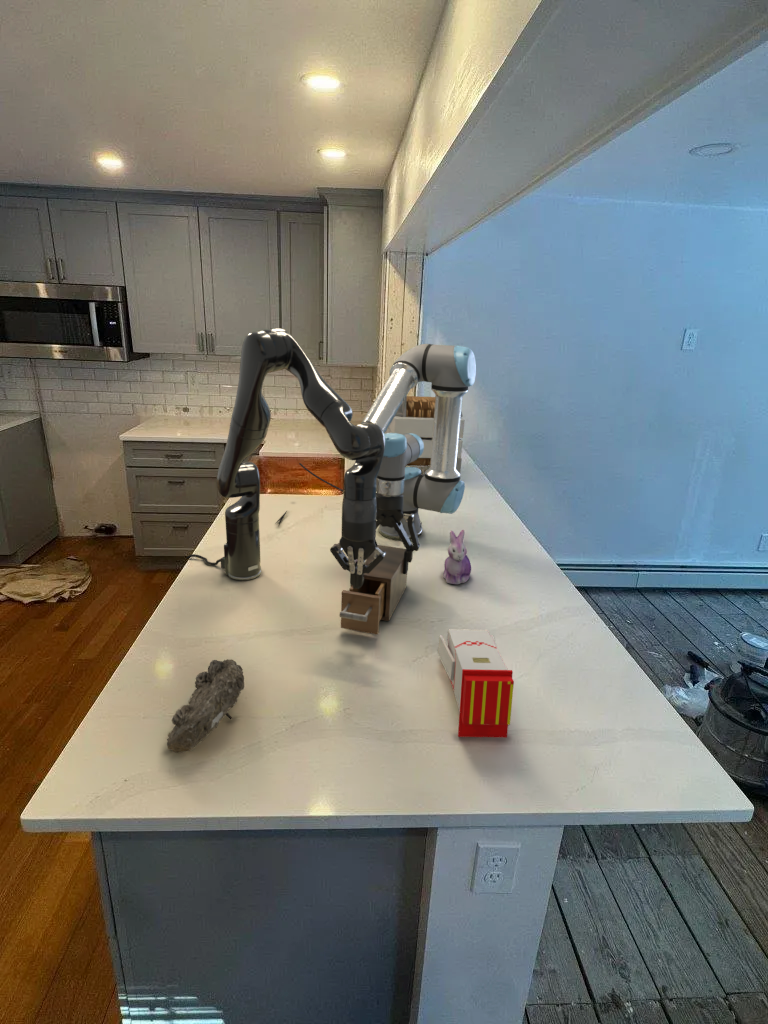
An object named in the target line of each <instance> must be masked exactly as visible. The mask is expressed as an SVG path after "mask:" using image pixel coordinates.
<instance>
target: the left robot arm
mask: <svg viewBox="0 0 768 1024" xmlns="http://www.w3.org/2000/svg"><path fill="white" fill-rule="evenodd" d="M239 361H240V363H239V375H238V383H237V389H236V395H235V401H234V406H233V409H232V413H231V418H230V423H229V430H228V435H227V439H226V444H225V448H224V451H223V455H222V457H221V459H220V463H219V466H218V469H217V473H216V474H217V475H216V487H217V491H218V493H219V494H220V496H222V497H223V498H225V499H226V498H227V499H233V498H234V499H235V498H239V499H238V500H237V501H235V502H234V503H233V504H231V505H228V507H227V508H226V509H225V511H224V520H225V538H226V542H225V543H223V556H222V557H221V558H219V559H217V560H216V561H215V562H211V561H208V558H207V557H204V556H203V555H201V554H200V555H199V554H194V553H193V554H189V555H187V556H186V557H185V559H187V560H189V559H190V558H198V559H200V560H203V561H204V563H205V564H206V565H209V566H217V565H218V564H219V563H220V569H222V570H224V573H225V576H228V577H229V578H230V579H232V580H236V581H250V580H253V579H256V578H258V577H260V575H261V574H262V566H261V538H260V537H261V533H260V510H261V475H260V471H259V468H258V466H257V465H256V464H255V463H254V462H253V461H245V460H247V458H248V457H249V456H251V455H252V454H253V453H254V452H255V451H256V450H257V449H258V448H259V447H260V446H261V445H262V444H263V442H264V441H265V439H266V437H267V436H268V435H267V434H268V431H269V428H270V423H271V418H272V412H271V408H270V406H269V403H268V402H267V400H266V398H265V396H264V394H263V385H264V381H265V378H266V376H267V375H268V374H270V373H274V372H279V371H283V370H286V371H287V372H289V373H290V374H292V375H293V376H294V377H295V378H296V380H297V381H298V384H299V387H300V393H301V398H302V401H303V404H304V406H305V408H306V409H307V411H308V412H309V413H310V414H311V416H313V417H314V418H315V419H316V421H317V422H318V423H319V424H321V426H322V427H323V428H324V429H325V430H326V433H327V435H328V436H329V438H330V441H331V442H332V444H333V446H334V448H335V450H336V451H337V453H338V454H339V455H341V456H342V457H343V458H345V459H347V460H349V461H354V463H353V465H352V466H351V467H349V468H348V469H347V470H345V472H344V475H343V490H344V491H343V492H342V494H343V495H342V496H343V497H342V503H341V537H340V538H339V542H338V543H334V544H333V545H332V546H331V547H330V548H329V550H330V553H331V555H332V556H333V557H334V558H335V560H336V561H337V563H338V564H339V566H340V567H341V569H342V570H344V571H348V572H349V574H350V576H349V584H351V585H352V587H353V588H356V589H359V588H360V587H361V586H362V585H363V583H364V573H367V574H368V573H370V572H371V571H372V570H373V569H374V568H375V567H376V566H377V565H378V564H379V563H380V562H381V561H382V560H383V558H384V557H385V555H386V552H385V551H381V550H380V549H379V548H378V547H377V545H378V542H377V539H376V535H377V529H376V521H377V520H376V516H377V503H376V493H377V492H376V486H377V482H376V480H377V475H378V472H379V469H380V466H381V462H382V459H383V455H384V451H385V437H384V433H383V431H382V429H381V428H380V427H379V426H378V425H377V424H375V423H363V424H361V423H358V424H353V423H352V422H351V421H352V419H353V416H354V413H353V409H352V407H351V406H350V405H349V404H348V403H347V401H345V399H343V397H342V396H341V395H339V394H338V392H336V391H335V390H334V388H333V387H332V386H330V385H329V383H328V382H327V381H326V380H325V379H324V378H323V377H322V375H321V374H320V373H319V371H318V370H317V368H316V367H315V365H314V364H313V362H312V361H311V360H310V358H309V357H308V355H307V353H306V352H305V351H304V349H303V348H302V347H301V346H300V344H299V343H298V341H297V340H296V339H295V337H294V336H293V335H292V334H291V333H290V332H289V331H288V330H287V329H285V328H281V327H273V328H267V329H265V328H264V329H260V330H255V331H252V332H249V333H248V334H247V335H246V336H245V337H244V339H243V342H242V345H241V352H240V360H239ZM373 552H374V553H375V554H374V558H375V559H374V560H373V561H372V562H371V563H370V564H369V565H366V561H367V558H368V557H369V556H370V555H371V554H372V553H373Z"/></svg>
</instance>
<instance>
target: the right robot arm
mask: <svg viewBox="0 0 768 1024" xmlns="http://www.w3.org/2000/svg"><path fill="white" fill-rule="evenodd" d="M388 373H389V377H388V378H387V380H386V381H385V383H384V385H383V386H382V388H381V390H379V391H380V392H379V393H378V395H377V396H376V398H375V399H374V401H373V403H372V404H371V406H370V408H369V409H368V411H367V413H366V414H365V416H364V418H363V419H362V421H361V422H360V424H363V423H375V424H377V425H378V426H379V427H380V428H381V429H382V431H383V433H384V437H385V451H384V455H383V459H382V462H381V466H380V469H379V472H378V475H377V480H376V482H377V486H376V503H377V516H376V530H377V529H378V533H379V534H380V535H381V536H382V537H385V538H387V539H389V540H395V541H401V542H402V544H403V545H404V547H405V549H406V550H405V552H404V567H403V574H406V573H407V574H408V571H409V563H411V562H412V561H413V558H414V557H413V556H414V555H413V554H414V552H417V551H419V549H420V547H421V543H420V540H419V538H420V537H421V536H422V535H423V525H422V524H423V523H422V522H421V518H420V515H419V509H420V510H424V511H430V512H436V513H440V514H449V515H452V514H454V513H456V512H457V510H458V509H459V508H460V505H461V503H462V500H463V497H464V493H465V489H466V485H465V484H466V483H465V481H463V480H462V479H461V474H460V473H459V472H458V471H457V470H456V463H457V452H458V441H459V430H460V419H461V418H462V417H461V412H462V407H463V398H464V395H466V394H467V393H468V392H469V388H470V387H472V386H474V384H475V382H476V376H477V363H476V356H475V354H474V351H473V350H472V349H471V348H470V347H468V346H461V345H451V344H450V345H449V344H434V343H433V344H432V343H421V344H418V345H415V346H413V347H411V348H409V349H408V350H406V351H404V352H403V353H402V354H401V355H400V356H399V357H398V358H396V359H395V361H394V362H393V364H392V365H391V367H390V369H389V372H388ZM422 382H424V383H425V382H426V383H431V385H430V386H431V387H430V389H431V391H432V392H433V393H434V395H435V396H434V397H435V409H434V422H433V436H432V449H431V462H430V466H429V468H427V469H426V470H425V471H424V474H422V470H421V468H419V467H416V466H407V464H409V463H411V462H413V461H415V460H417V459H418V458H419V457H420V456H421V455H422V453H423V450H424V444H423V441H422V439H421V438H420V437H419V436H418V435H416V434H413V433H409V434H404V435H402V434H397V433H386V431H387V429H388V427H389V426H390V424H391V422H392V420H393V419H394V417H395V415H396V413H397V412H398V410H399V408H400V406H401V405H402V403H403V401H404V399H405V398H406V396H408V395H409V393H410V391H411V390H412V389H414V388H415V387H416V386H417V385H418V383H422ZM298 464H299V465H300V466H301V467H302V468H303V470H305V471H306V472H307V473H309V474H310V475H312V476H313V477H315V478H317V480H320V481H321V482H323V483H325V484H327V485H328V486H331V487H332V488H335V489H336V490H338V491H340V492H342V493H343V491H344V489H342V488H340V487H338V486H337V485H334V484H332V483H330V482H329V481H328V480H325V479H323V478H321V477H320V476H319V475H317V474H315V473H313V472H312V471H311V470H309V469H308V468H307V467H305V466H304V464H302V463H301V462H299V463H298Z"/></svg>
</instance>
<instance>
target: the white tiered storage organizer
mask: <svg viewBox="0 0 768 1024" xmlns="http://www.w3.org/2000/svg"><path fill="white" fill-rule="evenodd" d="M434 409H435V396H415V395H414V396H413V395H412V396H411V395H407V396H406V398H405V399H404V401H403V403H402V405H401V406H400V408H399V410H398V412H397V413H396V415H395V417H394V419H393V420H392V422H391V424H390V426H389V427H388V429H387V431H386V433H397V434H402V435H404V434H409V433H413V434H416V435H418V436H419V437H420V438H421V439H422V441H423V444H424V450H423V453H422V455H421V456H420V457H419V458H418V459H417V460H415V461H413V462H411V463H409V464H407V465H406V467H417V466H418V467H430V462H431V449H432V436H433V422H434ZM464 429H465V419H464V418H463V411H461V419H460V430H459V441H458V452H457V463H456V470H457V471H458V472H459V473H460V475H461V472H462V461H463V460H462V453H463V442H464V441H463V440H462V439H463V438H464V431H465V430H464Z"/></svg>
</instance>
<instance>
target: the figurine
mask: <svg viewBox="0 0 768 1024" xmlns="http://www.w3.org/2000/svg"><path fill="white" fill-rule="evenodd" d="M455 533H456V532H454V531H453V530H450V531H449V541H450V544H449V545H448V548H447V554H448V556H447V557H446V558H445V560H444V564H443V565H444V569H443V575H442V576H443V579H444V580H445V582H446V583H447V584H450V585H451V584H452V585H460V584H464V583H466V582H468V580H469V579H470V576H471V573H472V563H471V560H470V558H469V557H468V555H467V553H468V550H467V547H466V545H465V542H464V539H465V535H466V534H465V533H466V532H465V530H464V529H462V530H460V531H459V534H458V535H456V534H455Z"/></svg>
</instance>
